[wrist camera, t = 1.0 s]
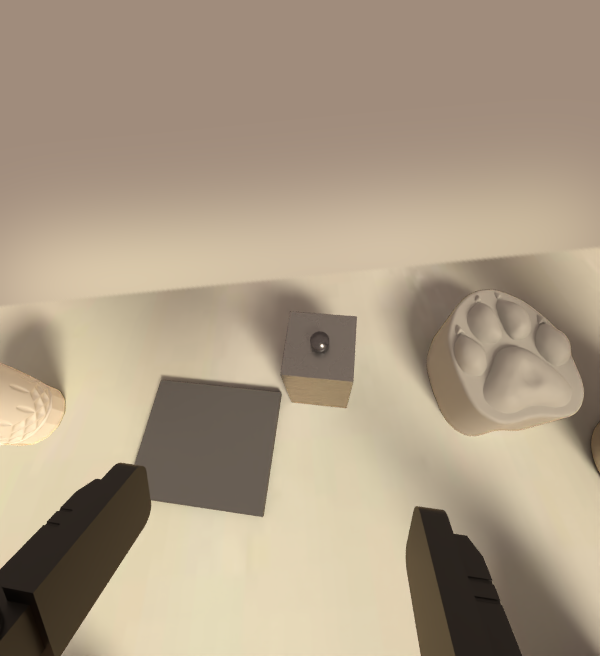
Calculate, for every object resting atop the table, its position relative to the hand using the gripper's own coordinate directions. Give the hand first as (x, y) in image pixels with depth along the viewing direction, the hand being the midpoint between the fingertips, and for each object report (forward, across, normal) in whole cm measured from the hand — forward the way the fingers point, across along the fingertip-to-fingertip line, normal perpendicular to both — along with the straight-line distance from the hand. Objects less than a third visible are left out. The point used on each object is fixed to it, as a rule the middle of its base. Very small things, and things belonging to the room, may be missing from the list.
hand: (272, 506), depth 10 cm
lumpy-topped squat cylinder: (+28, -17, +8) cm, 34 cm away
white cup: (+21, +32, +15) cm, 41 cm away
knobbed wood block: (+26, 0, +10) cm, 28 cm away
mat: (+20, +11, +15) cm, 28 cm away
